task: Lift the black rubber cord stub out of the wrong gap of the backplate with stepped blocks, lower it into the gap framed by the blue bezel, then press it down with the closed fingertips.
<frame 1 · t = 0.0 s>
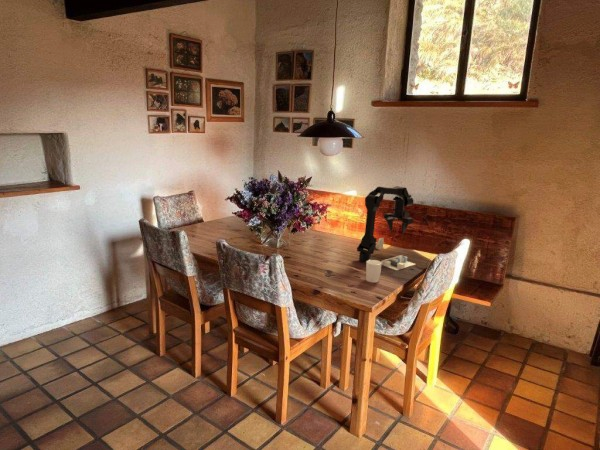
hand: (397, 231, 264), 15 cm above the table, fingers open, 9 cm apart
cord stub: (395, 266, 243), point 1 cm above the table, touching backplate with stepped blocks
white cup: (372, 280, 223), on the table
backplate with stepped blocks: (398, 266, 246), on the table
architectural model: (379, 249, 279), on the table
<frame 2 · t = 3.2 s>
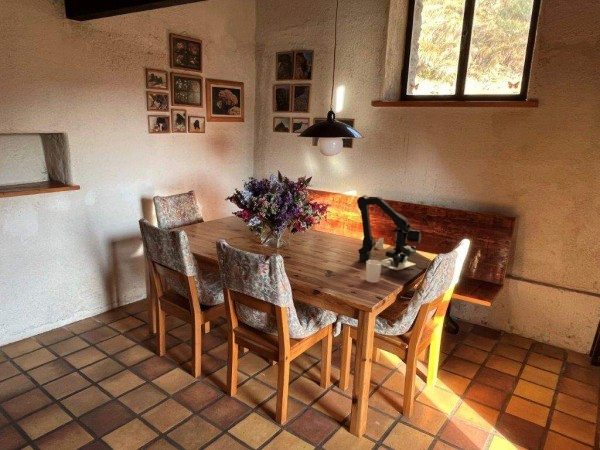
hand: (398, 266, 241), 1 cm above the table, fingers closed on cord stub, 3 cm apart
cord stub: (395, 266, 243), point 1 cm above the table, touching backplate with stepped blocks, gripper
everything else where it was.
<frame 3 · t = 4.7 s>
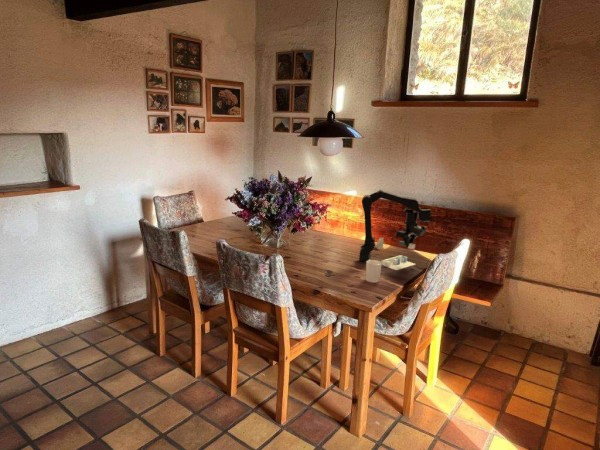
hand: (408, 247, 243), 12 cm above the table, fingers closed on cord stub, 3 cm apart
cord stub: (406, 246, 245), point 11 cm above the table, touching gripper
everything else where it was.
when the fingers open (2 cm above the table, at t = 6.6 s): cord stub stays where it is, resting on backplate with stepped blocks.
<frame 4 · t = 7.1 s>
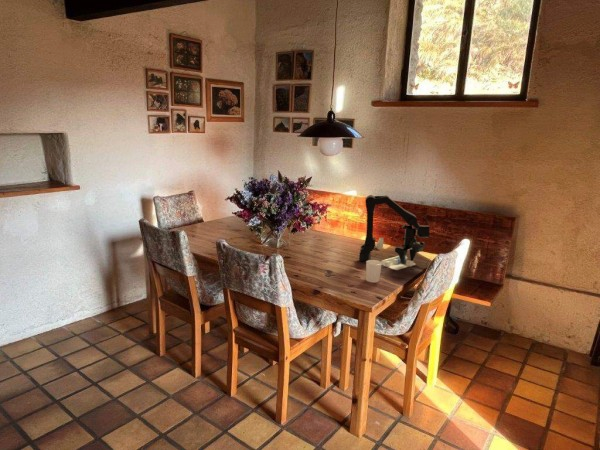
hand: (407, 262, 246), 2 cm above the table, fingers open, 8 cm apart
cord stub: (404, 263, 248), point 1 cm above the table, touching backplate with stepped blocks
everything else where it was.
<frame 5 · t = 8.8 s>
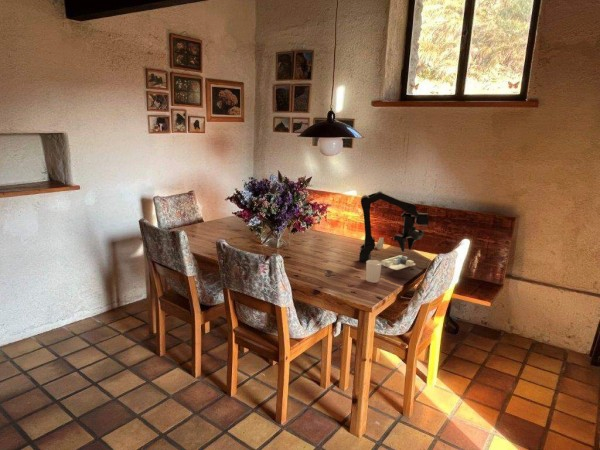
hand: (406, 250, 245), 9 cm above the table, fingers open, 6 cm apart
nothing on the table moved.
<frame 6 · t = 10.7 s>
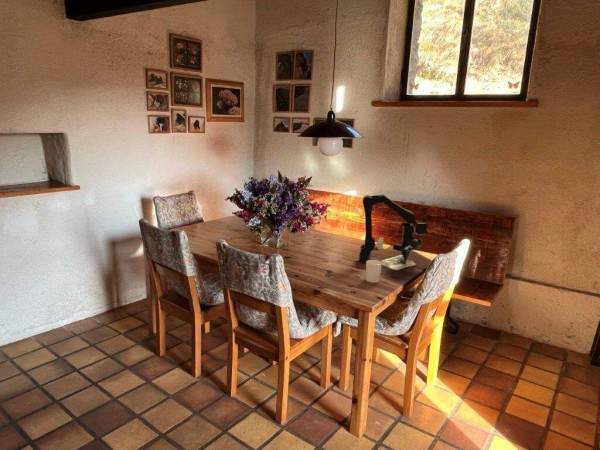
hand: (405, 259, 247), 4 cm above the table, fingers closed, pressing on cord stub
cord stub: (404, 263, 248), point 1 cm above the table, touching backplate with stepped blocks, gripper
everything else where it was.
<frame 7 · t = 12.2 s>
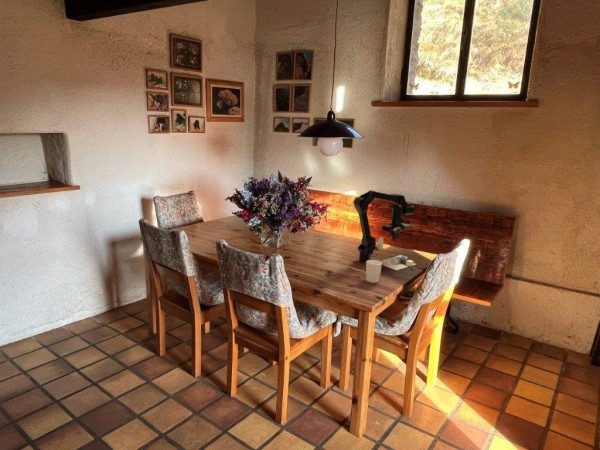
hand: (394, 240, 255), 12 cm above the table, fingers closed
cord stub: (404, 263, 248), point 1 cm above the table, touching backplate with stepped blocks
everything else where it was.
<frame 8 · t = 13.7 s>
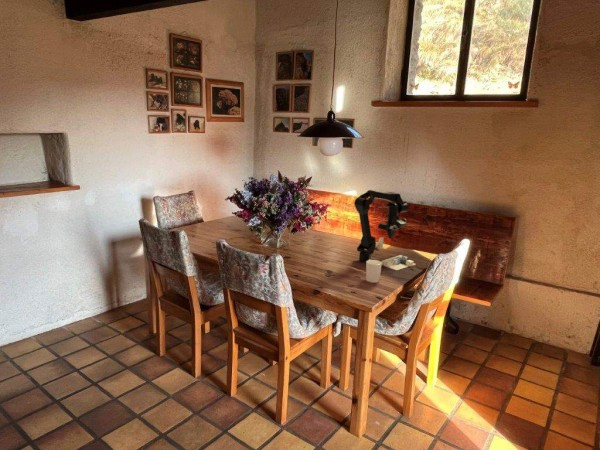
hand: (390, 238, 258), 12 cm above the table, fingers closed
nothing on the table moved.
at the end: cord stub 0.1 cm from the target spot on the backplate with stepped blocks, point 1.0 cm above the backplate with stepped blocks's base; cord stub moved 8.0 cm from its start; the gripper is holding nothing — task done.
